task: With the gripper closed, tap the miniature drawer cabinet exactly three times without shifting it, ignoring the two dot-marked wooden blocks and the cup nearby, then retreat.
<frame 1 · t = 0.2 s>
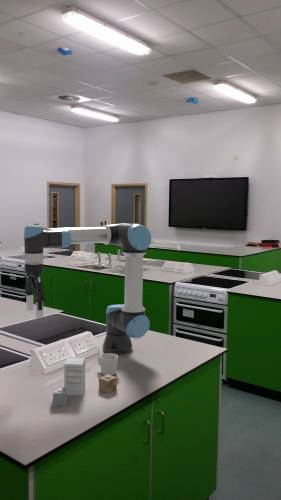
hand: (34, 313, 180), 28 cm above the counter, fingers open, 13 cm apart
cup: (106, 373, 191), on the counter
slate block: (59, 403, 162), on the counter
walnut block: (107, 389, 175), on the counter
miniature drawer cabinet: (75, 392, 172), on the counter
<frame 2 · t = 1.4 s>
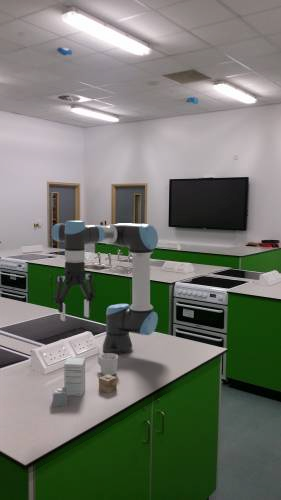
hand: (74, 318, 169), 30 cm above the counter, fingers open, 9 cm apart
nothing on the counter moved.
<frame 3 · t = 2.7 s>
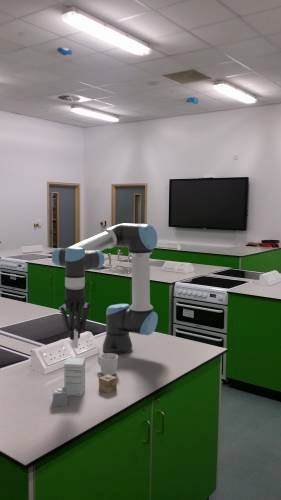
hand: (74, 347, 170), 18 cm above the counter, fingers closed
nothing on the counter moved.
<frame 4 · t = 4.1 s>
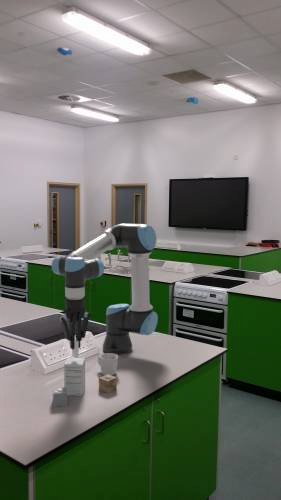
hand: (75, 356, 171), 14 cm above the counter, fingers closed
nothing on the counter moved.
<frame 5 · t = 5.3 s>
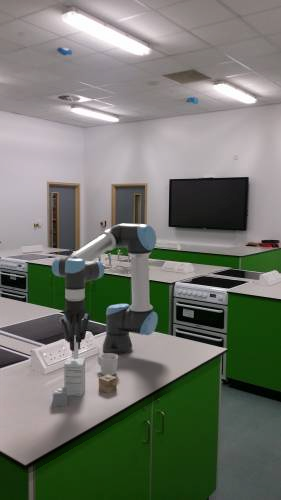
hand: (74, 358, 170), 14 cm above the counter, fingers closed
nothing on the counter moved.
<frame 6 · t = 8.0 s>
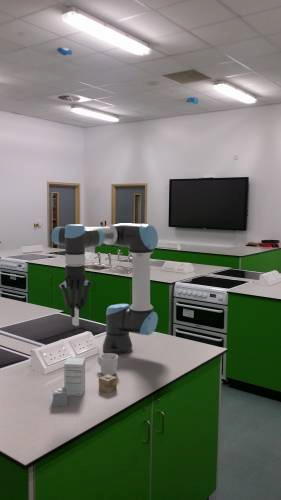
hand: (75, 324, 169), 27 cm above the counter, fingers closed
nothing on the counter moved.
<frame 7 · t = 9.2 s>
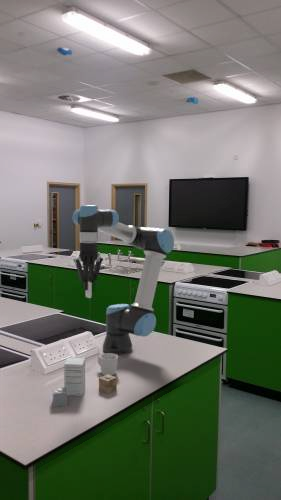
hand: (88, 297, 185), 34 cm above the counter, fingers closed
nothing on the counter moved.
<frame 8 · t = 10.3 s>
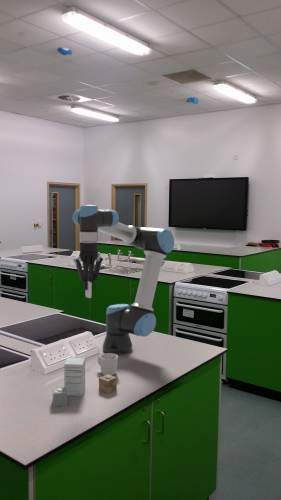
hand: (88, 297, 185), 34 cm above the counter, fingers closed
nothing on the counter moved.
at the end: miniature drawer cabinet moved 0.3 cm from its start; miniature drawer cabinet tilted 0°; walnut block moved 0.1 cm from its start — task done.
